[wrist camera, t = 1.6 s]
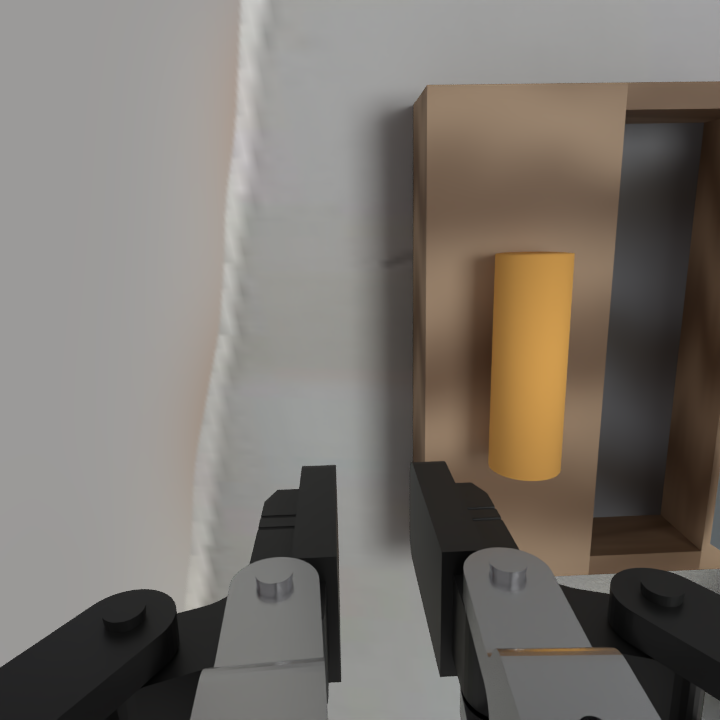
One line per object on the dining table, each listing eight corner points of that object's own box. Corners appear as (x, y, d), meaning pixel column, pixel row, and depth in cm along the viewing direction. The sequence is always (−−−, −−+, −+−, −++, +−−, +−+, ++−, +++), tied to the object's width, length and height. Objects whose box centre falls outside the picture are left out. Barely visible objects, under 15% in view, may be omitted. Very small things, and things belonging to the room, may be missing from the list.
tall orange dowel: (480, 253, 24) (528, 257, 21) (538, 250, 25) (592, 254, 22) (474, 459, 26) (518, 486, 23) (528, 447, 27) (576, 472, 24)
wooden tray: (413, 105, 26) (427, 84, 23) (794, 99, 27) (871, 79, 23) (413, 537, 32) (424, 582, 28) (733, 523, 32) (788, 565, 28)
